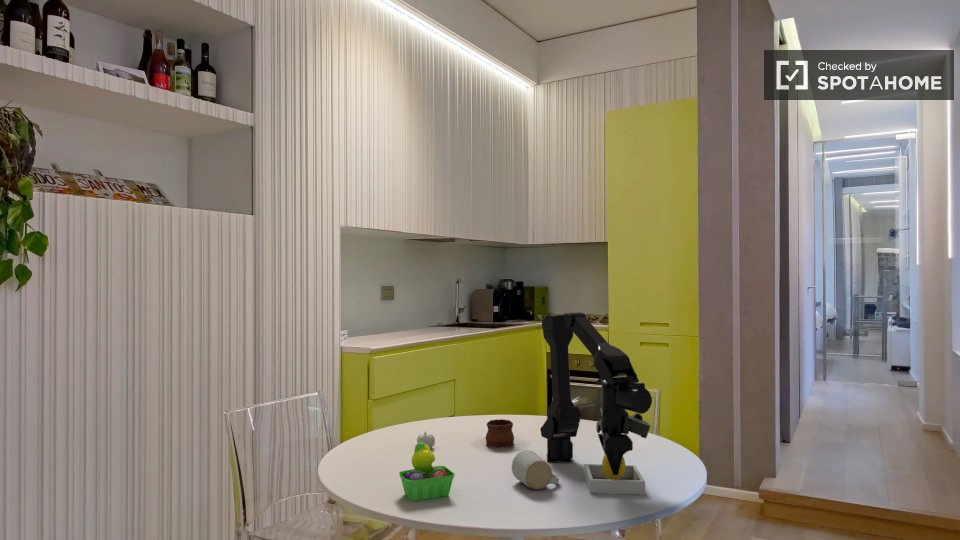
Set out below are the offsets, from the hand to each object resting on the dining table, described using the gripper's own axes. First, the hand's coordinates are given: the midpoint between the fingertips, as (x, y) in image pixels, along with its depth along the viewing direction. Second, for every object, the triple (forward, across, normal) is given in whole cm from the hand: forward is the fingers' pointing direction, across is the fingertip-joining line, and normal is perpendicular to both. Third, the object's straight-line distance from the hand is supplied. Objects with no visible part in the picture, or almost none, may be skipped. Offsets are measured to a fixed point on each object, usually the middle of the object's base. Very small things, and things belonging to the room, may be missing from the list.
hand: (613, 470), depth 150 cm
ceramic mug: (+4, -1, +18) cm, 19 cm away
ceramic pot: (+4, +35, +29) cm, 45 cm away
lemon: (+3, 0, 0) cm, 3 cm away
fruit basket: (+4, -10, +44) cm, 45 cm away
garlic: (+4, +28, +50) cm, 57 cm away
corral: (+4, 0, 0) cm, 4 cm away
